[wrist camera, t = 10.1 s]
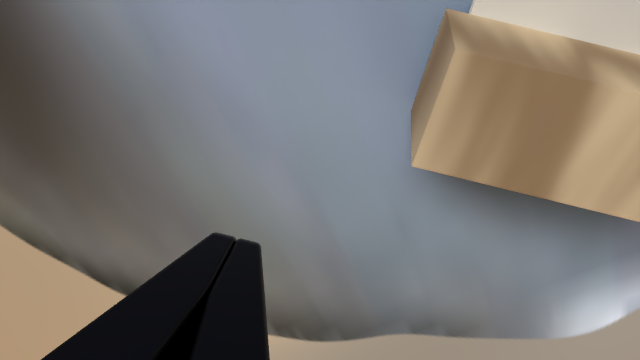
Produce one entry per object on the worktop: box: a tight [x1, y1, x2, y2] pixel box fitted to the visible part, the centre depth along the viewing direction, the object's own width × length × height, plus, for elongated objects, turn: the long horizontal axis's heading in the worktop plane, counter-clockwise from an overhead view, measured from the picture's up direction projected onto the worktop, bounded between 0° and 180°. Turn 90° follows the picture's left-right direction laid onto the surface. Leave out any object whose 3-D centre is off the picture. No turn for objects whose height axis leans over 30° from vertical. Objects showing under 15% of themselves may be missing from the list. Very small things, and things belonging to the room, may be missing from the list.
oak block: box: [411, 8, 640, 222], centre depth 16 cm, size 4×4×9 cm
